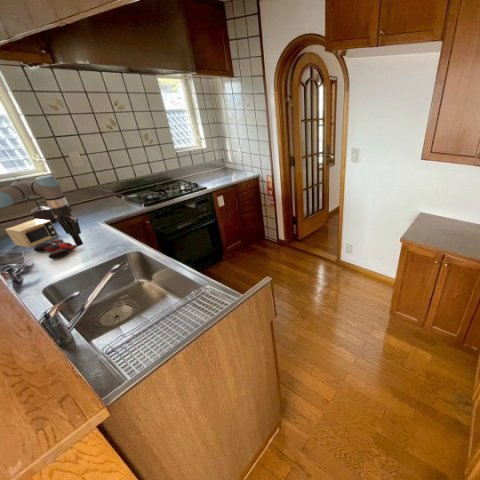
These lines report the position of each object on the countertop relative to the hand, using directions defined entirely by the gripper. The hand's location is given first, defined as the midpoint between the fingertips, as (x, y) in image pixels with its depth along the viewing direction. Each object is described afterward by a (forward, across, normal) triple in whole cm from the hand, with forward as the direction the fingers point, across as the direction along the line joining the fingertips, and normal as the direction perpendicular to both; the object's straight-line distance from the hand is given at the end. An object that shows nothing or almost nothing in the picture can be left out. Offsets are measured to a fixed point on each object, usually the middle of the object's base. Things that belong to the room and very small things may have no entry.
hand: (80, 244), depth 148 cm
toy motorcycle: (+6, +18, 0) cm, 19 cm away
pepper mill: (+6, +73, -32) cm, 80 cm away
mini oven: (+6, +46, -6) cm, 47 cm away
